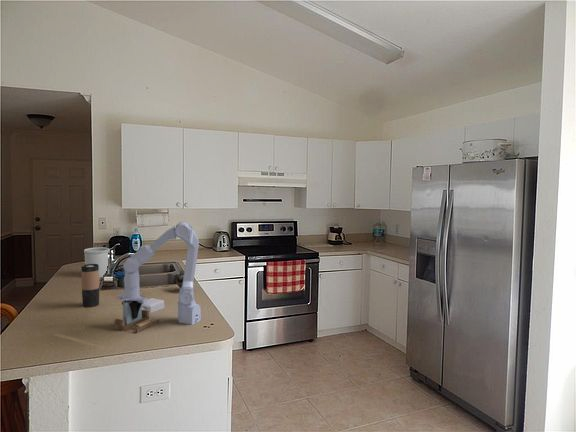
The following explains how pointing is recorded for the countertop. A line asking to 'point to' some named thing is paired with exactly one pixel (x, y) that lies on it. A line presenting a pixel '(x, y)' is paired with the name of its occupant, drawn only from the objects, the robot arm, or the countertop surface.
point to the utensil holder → (97, 258)
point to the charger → (153, 305)
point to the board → (130, 313)
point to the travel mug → (90, 285)
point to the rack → (130, 327)
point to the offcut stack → (142, 323)
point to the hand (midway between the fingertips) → (132, 317)
